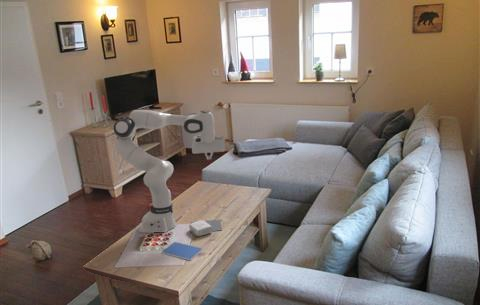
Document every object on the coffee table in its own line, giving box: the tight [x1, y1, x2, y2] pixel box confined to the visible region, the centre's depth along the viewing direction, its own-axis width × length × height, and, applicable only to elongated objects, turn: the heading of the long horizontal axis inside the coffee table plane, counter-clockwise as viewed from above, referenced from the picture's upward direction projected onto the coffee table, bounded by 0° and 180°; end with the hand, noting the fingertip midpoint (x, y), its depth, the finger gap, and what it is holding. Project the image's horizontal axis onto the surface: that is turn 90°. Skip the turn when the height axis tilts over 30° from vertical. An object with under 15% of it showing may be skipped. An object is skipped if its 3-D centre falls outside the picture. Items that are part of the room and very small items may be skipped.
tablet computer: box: [161, 241, 204, 261], centre depth 213 cm, size 19×13×1 cm, turn 63°
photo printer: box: [188, 220, 213, 237], centre depth 233 cm, size 10×4×12 cm
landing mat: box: [190, 218, 223, 234], centre depth 239 cm, size 18×14×1 cm
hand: (209, 159), depth 244 cm, fingers closed
